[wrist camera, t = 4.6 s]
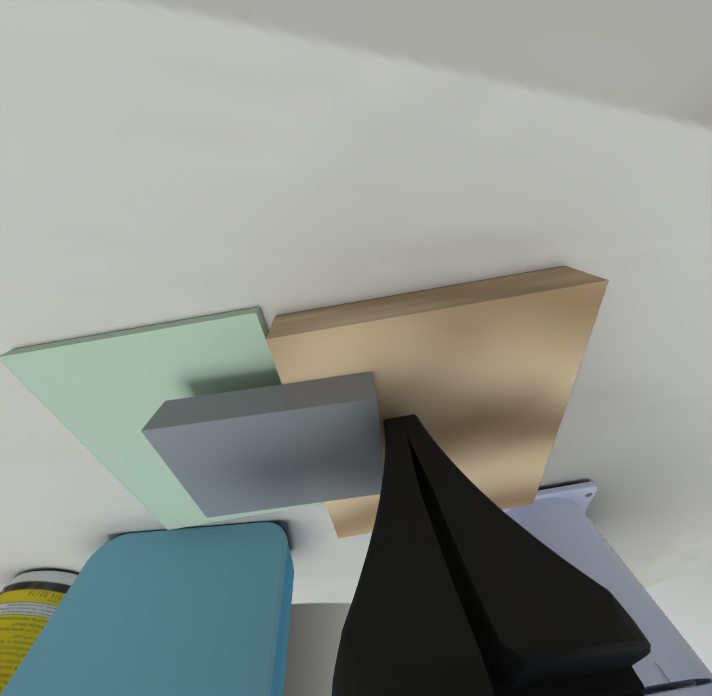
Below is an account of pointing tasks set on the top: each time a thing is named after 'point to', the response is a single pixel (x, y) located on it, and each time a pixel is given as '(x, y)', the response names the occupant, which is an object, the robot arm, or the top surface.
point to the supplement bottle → (27, 614)
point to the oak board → (457, 371)
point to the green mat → (146, 393)
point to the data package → (170, 618)
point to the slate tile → (273, 444)
